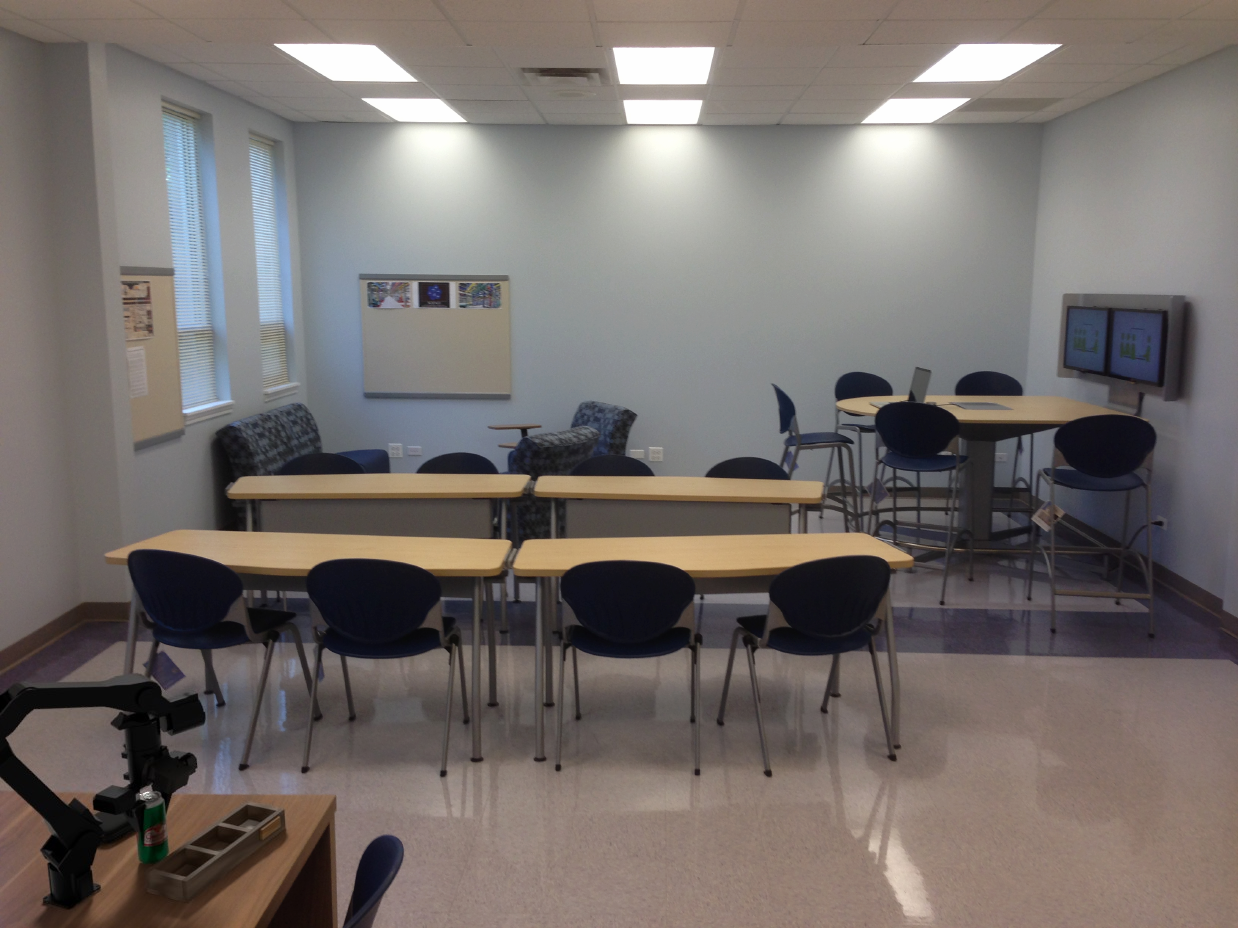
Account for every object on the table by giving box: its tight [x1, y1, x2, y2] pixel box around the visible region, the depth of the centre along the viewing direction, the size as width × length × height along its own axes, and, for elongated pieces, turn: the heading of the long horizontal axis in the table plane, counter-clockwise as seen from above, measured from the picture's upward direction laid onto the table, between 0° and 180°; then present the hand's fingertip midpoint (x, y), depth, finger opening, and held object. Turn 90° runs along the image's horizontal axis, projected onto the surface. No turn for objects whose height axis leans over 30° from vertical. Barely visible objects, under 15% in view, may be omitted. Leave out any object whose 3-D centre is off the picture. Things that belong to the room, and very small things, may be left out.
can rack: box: [144, 800, 287, 904], centre depth 176 cm, size 10×25×4 cm, turn 160°
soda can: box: [135, 790, 170, 865], centre depth 175 cm, size 5×5×12 cm
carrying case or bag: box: [93, 792, 142, 844], centre depth 189 cm, size 11×3×15 cm
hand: (151, 824), depth 175 cm, fingers closed on soda can, 5 cm apart
